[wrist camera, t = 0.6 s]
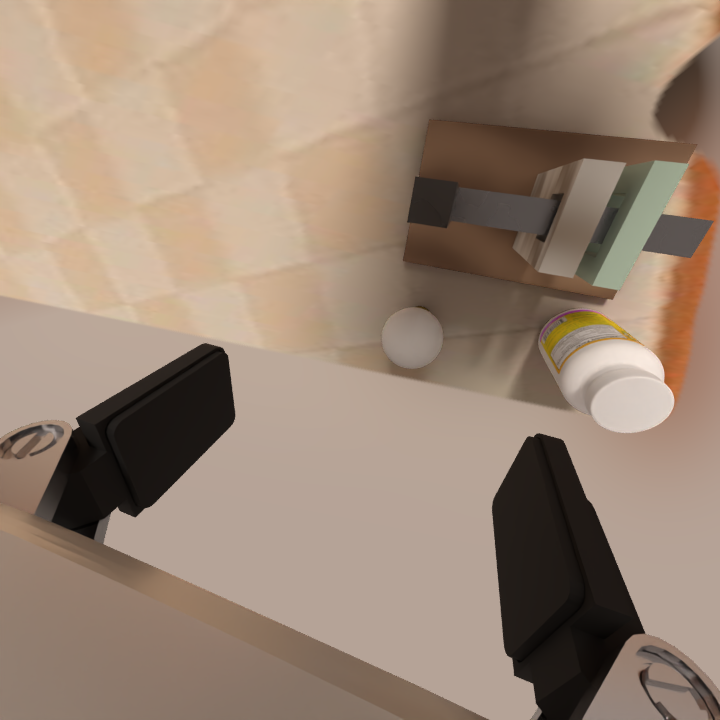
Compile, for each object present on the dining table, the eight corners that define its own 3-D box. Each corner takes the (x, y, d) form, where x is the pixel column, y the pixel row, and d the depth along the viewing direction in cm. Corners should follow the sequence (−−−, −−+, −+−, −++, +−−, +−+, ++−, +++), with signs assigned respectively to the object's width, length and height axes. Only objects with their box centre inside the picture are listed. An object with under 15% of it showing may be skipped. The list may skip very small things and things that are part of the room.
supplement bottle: (610, 361, 32) (687, 444, 21) (538, 368, 34) (574, 446, 24) (613, 299, 30) (702, 358, 19) (535, 311, 32) (573, 370, 21)
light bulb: (425, 278, 34) (412, 305, 25) (457, 320, 35) (455, 358, 26) (385, 310, 37) (361, 344, 28) (415, 347, 38) (402, 390, 29)
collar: (604, 170, 21) (655, 160, 16) (628, 173, 21) (689, 163, 15) (562, 266, 24) (592, 285, 19) (583, 269, 24) (619, 290, 19)
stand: (430, 121, 27) (410, 71, 17) (688, 146, 24) (877, 101, 13) (404, 259, 33) (377, 287, 23) (608, 296, 29) (691, 351, 19)
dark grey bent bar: (431, 184, 22) (415, 176, 15) (690, 219, 19) (834, 230, 12) (424, 215, 23) (407, 222, 16) (670, 253, 20) (791, 283, 13)
